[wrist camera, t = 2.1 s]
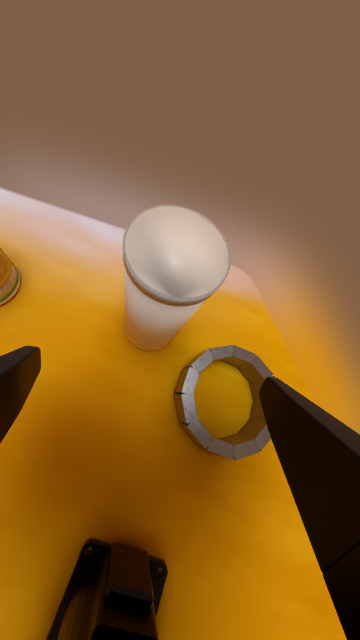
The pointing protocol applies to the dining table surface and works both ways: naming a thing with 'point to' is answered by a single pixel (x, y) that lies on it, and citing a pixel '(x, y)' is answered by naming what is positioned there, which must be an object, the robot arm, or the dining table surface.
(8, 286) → the supplement bottle
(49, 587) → the dining table surface
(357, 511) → the robot arm
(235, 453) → the collar
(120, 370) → the dining table surface
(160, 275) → the duct sleeve
